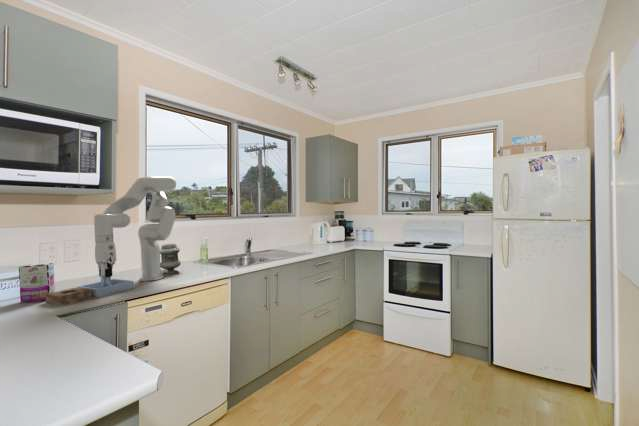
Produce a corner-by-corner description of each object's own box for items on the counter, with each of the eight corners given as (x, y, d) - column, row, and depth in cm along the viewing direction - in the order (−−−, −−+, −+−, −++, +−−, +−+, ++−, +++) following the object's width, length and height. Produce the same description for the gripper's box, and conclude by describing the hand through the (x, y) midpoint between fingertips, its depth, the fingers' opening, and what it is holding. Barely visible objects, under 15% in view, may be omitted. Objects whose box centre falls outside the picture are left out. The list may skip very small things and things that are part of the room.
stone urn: (160, 272, 204) (158, 244, 204) (180, 270, 209) (179, 242, 209) (159, 275, 193) (158, 246, 193) (181, 273, 198) (180, 244, 198)
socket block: (76, 295, 151) (76, 287, 151) (91, 298, 146) (91, 289, 146) (45, 303, 140) (45, 293, 140) (60, 305, 135) (60, 296, 135)
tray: (114, 286, 169) (114, 278, 169) (133, 288, 162) (133, 280, 162) (77, 294, 153) (77, 286, 153) (96, 298, 146) (96, 289, 146)
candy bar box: (55, 297, 149) (54, 262, 149) (49, 300, 144) (48, 264, 144) (26, 300, 146) (25, 264, 146) (19, 303, 141) (18, 266, 141)
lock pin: (108, 285, 160) (106, 261, 160) (112, 286, 158) (111, 261, 158) (99, 287, 157) (98, 262, 156) (104, 288, 155) (103, 263, 155)
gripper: (122, 238, 157) (124, 276, 157) (102, 238, 164) (103, 273, 165) (106, 240, 150) (108, 279, 150) (86, 239, 157) (87, 276, 158)
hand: (105, 276), depth 157 cm, fingers closed on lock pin, 3 cm apart
